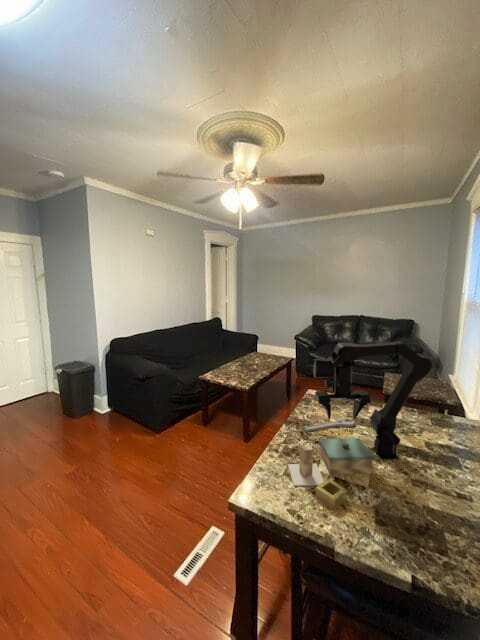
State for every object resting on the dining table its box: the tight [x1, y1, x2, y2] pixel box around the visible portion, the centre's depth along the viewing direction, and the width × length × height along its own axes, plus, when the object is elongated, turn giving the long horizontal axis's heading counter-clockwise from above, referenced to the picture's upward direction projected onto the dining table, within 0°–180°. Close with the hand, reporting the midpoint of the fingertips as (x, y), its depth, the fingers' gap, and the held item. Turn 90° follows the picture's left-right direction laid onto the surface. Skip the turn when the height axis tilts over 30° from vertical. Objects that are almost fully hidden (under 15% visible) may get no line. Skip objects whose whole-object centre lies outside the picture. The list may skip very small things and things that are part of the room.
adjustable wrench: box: [300, 417, 355, 433], centre depth 123 cm, size 25×6×2 cm, turn 100°
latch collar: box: [315, 478, 348, 511], centre depth 82 cm, size 6×6×3 cm
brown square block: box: [299, 443, 314, 478], centre depth 91 cm, size 3×3×10 cm
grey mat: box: [287, 462, 325, 487], centre depth 92 cm, size 10×10×1 cm
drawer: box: [319, 437, 375, 475], centre depth 97 cm, size 15×11×7 cm
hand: (341, 418), depth 102 cm, fingers open, 9 cm apart
